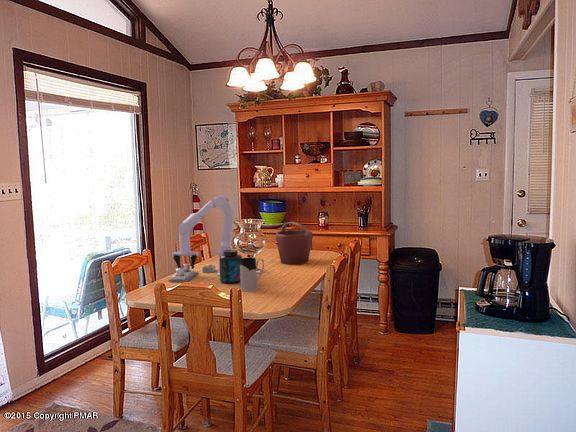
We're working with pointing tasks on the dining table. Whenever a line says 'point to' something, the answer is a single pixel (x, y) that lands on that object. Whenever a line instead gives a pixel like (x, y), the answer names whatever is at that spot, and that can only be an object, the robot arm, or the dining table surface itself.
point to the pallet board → (183, 277)
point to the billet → (186, 267)
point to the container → (230, 266)
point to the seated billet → (180, 272)
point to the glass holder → (249, 274)
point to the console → (208, 268)
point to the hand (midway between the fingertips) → (186, 268)
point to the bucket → (294, 245)
